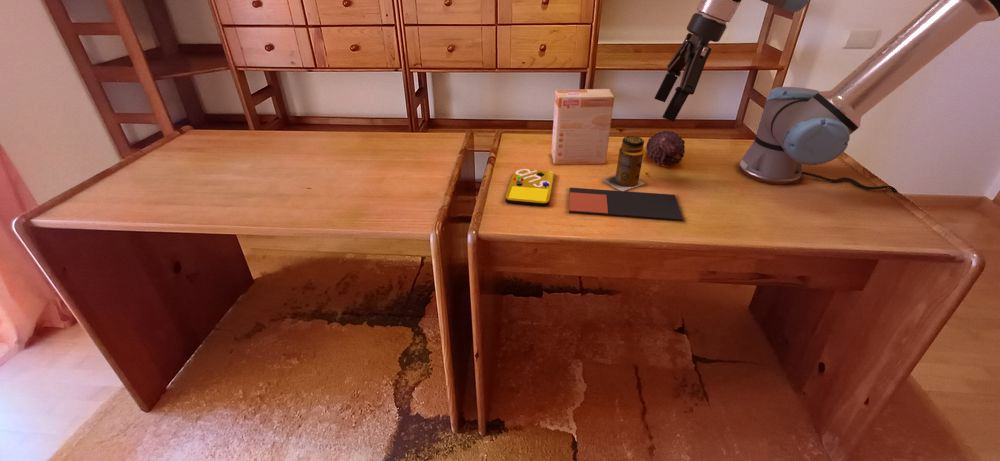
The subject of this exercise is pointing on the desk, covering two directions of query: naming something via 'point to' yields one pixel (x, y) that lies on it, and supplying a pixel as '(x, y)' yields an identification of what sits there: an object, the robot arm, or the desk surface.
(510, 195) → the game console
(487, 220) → the desk surface
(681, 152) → the pine cone
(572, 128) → the coffeecake box
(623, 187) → the condiment
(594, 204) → the desk mat
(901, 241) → the desk surface
